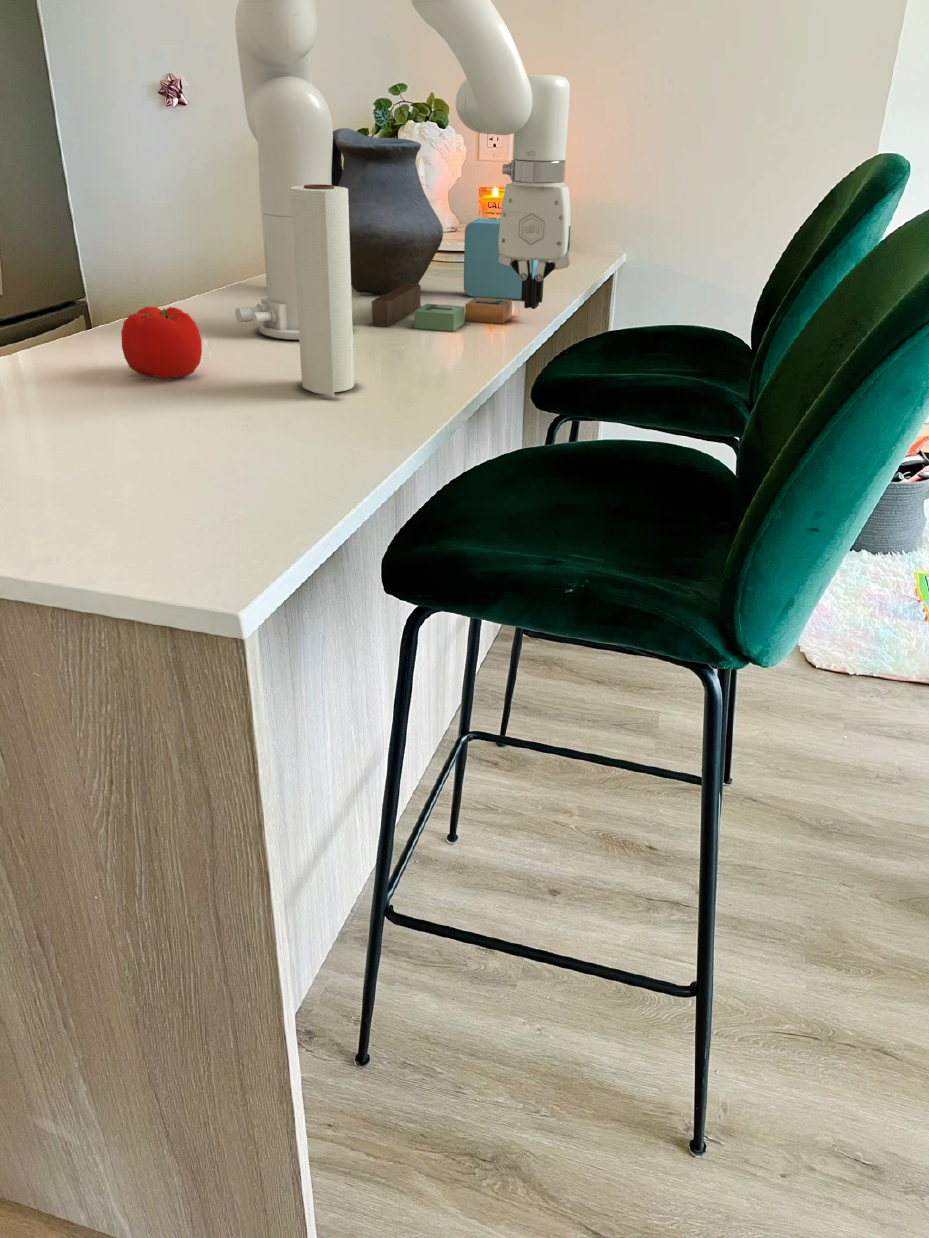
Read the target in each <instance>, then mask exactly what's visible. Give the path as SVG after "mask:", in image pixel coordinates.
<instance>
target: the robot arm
mask: <svg viewBox="0 0 929 1238" xmlns="http://www.w3.org/2000/svg"><path fill="white" fill-rule="evenodd" d="M410 2H411V4H412V7H413V8H414V10H415V11H416V12H417V14H418V15H419V16H420V18H421V19H422V20H423V21H424V22H425V23H426V24H427V25H428V26H429V27H431V28H432V29H433V30H434V31H435V32H436V33H438V34H439V35H440V37H441V38H442V39H443V41H445V43H446V44H447V45H448V47H449V48H450V50H451V51H452V53H453V54H454V56H455V58H456V59H457V61H458V63H459V65H460V67H461V69H462V71H463V74H464V75H465V77H466V79H465V80H463V82H462V83H461V84H460V86H459V88H458V89H457V92H456V94H455V95H456V96H455V110H456V114H457V117H458V118H459V120H460V121H461V122H462V124H463V125H464V126H465V127H466V128H468V129H469V130H471V131H473V132H475V133H477V134H478V133H479V134H485V135H497V136H509V135H513V139H512V140H513V141H512V144H513V146H512V159H511V161H510V162H508V163H503V164H502V173H501V174H502V175H507V176H509V177H510V180H511V183H510V182H509V183H506V184H505V187H504V192H503V197H502V202H501V208H500V209H501V211H500V219H499V220H500V228H499V239H498V250H499V253H500V254H499V258H498V262H499V263H500V264H503V265H506V266H509V267H512V268H513V269H514V270H515V271H516V273H517V274H518V275H519V276H520V279H521V280H522V293H521V300H520V301H521V302H523V303H524V305H523V307H524V309H531V310H536V308H538V307H539V304H540V303H542V302H543V300H544V299H543V298H544V297H543V296H544V283H545V282H544V280H545V279H546V278H547V277H548V276H549V275H550V273H552V272H553V271H556V270H562V269H566V268H568V267H569V266H570V264H571V261H570V255H569V253H570V247H571V230H572V229H571V224H572V223H571V199H570V198H571V197H570V188H569V185H567V184H565V177H566V176H565V174H566V159H567V145H568V143H567V142H568V130H569V129H568V128H569V112H570V98H571V85H570V81H569V80H568V79H567V78H566V77H565V76H563V75H558V74H527V71H526V68H525V66H524V64H523V60H522V58H521V56H520V53H519V51H518V48H517V45H516V44H515V41H514V39H513V37H512V34H511V32H510V30H509V28H508V26H507V25H506V22H505V21H504V19H503V18H502V16H501V14H500V13H499V11H498V10H497V8H496V6H495V5H494V3H493V2H492V0H410ZM234 22H235V25H234V27H235V41H236V47H237V55H238V56H237V57H238V63H239V70H240V71H239V72H240V78H241V79H240V80H241V86H242V94H243V102H244V110H245V114H246V115H245V116H246V120H247V124H248V128H249V130H250V132H251V134H252V137H254V140H255V141H256V143H257V155H258V156H257V157H258V160H257V161H258V185H259V203H260V213H261V224H262V225H261V226H262V237H263V251H264V252H263V254H264V266H265V279H266V281H265V282H266V289H267V290H266V292H267V297H261V298H260V303H257V304H256V306H253V307H250V306H245V307H238V308H236V309H235V312H234V313H235V319H236V321H237V322H238V323H239V324H240V323H249V322H253V323H254V324H258V331H259V332H260V334H262V335H264V336H265V337H270V338H274V339H281V340H293V341H299V324H298V307H297V290H296V274H295V257H294V240H293V223H292V206H291V189H290V188H291V187H295V186H304V185H312V184H321V185H332V181H331V173H332V146H333V131H334V130H333V129H334V128H333V120H332V119H333V118H332V115H331V111H330V108H329V105H328V102H327V101H326V99H325V97H324V96H323V94H322V93H321V91H320V90H319V89H318V88H317V87H316V86H315V85H314V84H313V78H312V67H311V57H310V52H311V51H312V49H313V48H314V46H315V43H316V41H317V37H318V32H319V20H318V12H317V5H316V0H238V3H237V5H236V10H235V21H234ZM530 260H538V264H537V269H536V274H535V276H534V279H533V278H532V274H531V265H530Z"/></svg>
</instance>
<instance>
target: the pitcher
mask: <svg viewBox="0 0 929 1238" xmlns="http://www.w3.org/2000/svg"><path fill="white" fill-rule="evenodd" d="M421 148H422V144H421V143H420V142H418V141H414V140H411V139H407V138H395V137H394V138H393V137H372V136H367V135H365V134H364V133H360V132H358V131H356V130H354V129H351V128H348V127H347V128H346V127H343V128H342V127H341V128H337V129H335V130H333V146H332V173H331V181H332V185H333V186H336V187H345V188H347V189H348V205H349V236H350V267H351V288H353V289H354V290H355V291H356V292H357V293H365V294H370V295H375V296H378V295H379V296H383V295H385V294H387V293H389V292H391V291H393V290H395V289H397V288H399V287H401V286H403V285H405V284H419V285H420V281H421V280H422V278H423V277H424V275H425V274H426V271H427V270H428V269H429V266H430V264H431V263H432V261H433V259H434V258H435V256H436V255H437V252H438V250H439V248H440V247H441V244H442V242H443V237H444V227H443V225H442V222H441V221H440V219H439V217H438V215H437V214H436V212H435V210H434V209H433V207H432V205H431V203H430V201H429V199H428V197H427V195H426V193H425V190H424V188H423V186H422V185H423V184H422V181H421V178H420V176H419V171H418V168H417V164H416V160H417V156H418V153H419V151H420V150H421ZM342 158H343V159H342Z"/></svg>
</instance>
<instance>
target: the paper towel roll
mask: <svg viewBox="0 0 929 1238" xmlns="http://www.w3.org/2000/svg"><path fill="white" fill-rule="evenodd" d="M290 189H291V206H292V223H293V240H294V257H295V274H296V290H297V307H298V324H299V340H298V341H299V356H300V374H301V375H300V376H301V385H302V388H303V389H305V390H307V391H310V392H312V393H314V394H319V395H325V396H329V397H332V398H335V397H336V396H335V393H339V392H345V391H348V390H351V389H352V388H353V387H354V386H355V366H354V365H355V364H354V363H355V361H354V336H353V335H354V333H353V331H354V330H353V301H352V298H353V297H352V285H351V267H350V236H349V205H348V189H347V188H345V187H336V186H333V185H321V184H312V185H304V186H295V187H291V188H290Z"/></svg>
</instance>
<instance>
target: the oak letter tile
mask: <svg viewBox="0 0 929 1238" xmlns="http://www.w3.org/2000/svg"><path fill="white" fill-rule="evenodd" d="M513 301H514V299H501V298H485V297H473V298H471V300H469V301H468V302H466V303H465V305H464V307H465V321H466V322H476V323H487V324H488V323H490V324H504V323H506V322H507V321H509V319H511V317H512V316H513ZM465 321H464V322H465Z"/></svg>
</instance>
